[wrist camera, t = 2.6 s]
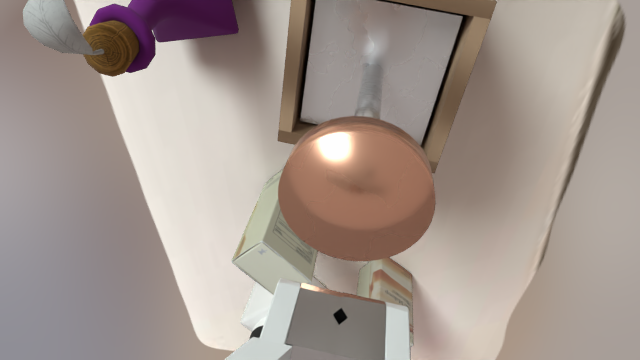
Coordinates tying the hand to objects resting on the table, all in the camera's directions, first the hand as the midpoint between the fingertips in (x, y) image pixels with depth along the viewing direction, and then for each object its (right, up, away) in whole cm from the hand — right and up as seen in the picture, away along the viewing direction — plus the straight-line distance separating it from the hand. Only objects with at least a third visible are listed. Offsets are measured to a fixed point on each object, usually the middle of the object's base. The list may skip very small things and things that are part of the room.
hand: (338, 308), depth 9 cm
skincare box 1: (-3, +2, +36) cm, 36 cm away
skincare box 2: (+8, -8, +40) cm, 42 cm away
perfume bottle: (-11, +20, +25) cm, 34 cm away
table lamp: (+3, +10, +14) cm, 18 cm away
